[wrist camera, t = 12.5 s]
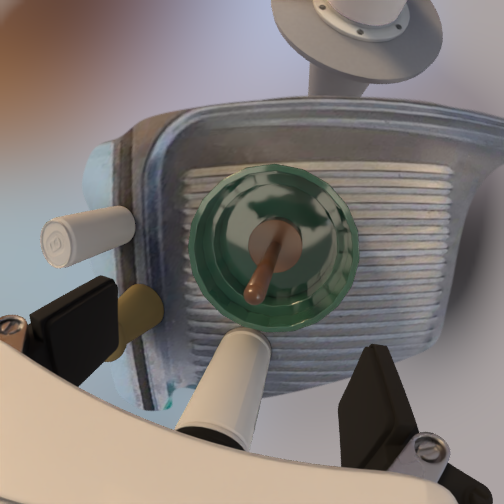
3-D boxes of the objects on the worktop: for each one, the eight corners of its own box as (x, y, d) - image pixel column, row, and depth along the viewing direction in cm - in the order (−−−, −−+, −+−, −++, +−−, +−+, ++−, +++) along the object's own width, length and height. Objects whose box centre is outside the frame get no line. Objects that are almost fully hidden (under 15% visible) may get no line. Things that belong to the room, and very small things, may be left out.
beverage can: (143, 234, 34) (78, 259, 22) (116, 249, 35) (51, 276, 23) (128, 198, 33) (59, 209, 22) (101, 215, 34) (34, 231, 23)
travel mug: (210, 349, 36) (140, 469, 17) (242, 316, 34) (181, 446, 15) (247, 378, 36) (205, 507, 17) (282, 348, 34) (257, 489, 15)
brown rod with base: (257, 212, 30) (213, 240, 15) (307, 222, 30) (312, 262, 15) (248, 260, 32) (200, 327, 17) (296, 271, 31) (289, 349, 16)
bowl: (220, 157, 30) (202, 152, 25) (362, 186, 29) (376, 187, 23) (199, 289, 34) (180, 310, 28) (328, 319, 32) (332, 346, 27)
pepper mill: (138, 274, 35) (84, 307, 25) (172, 308, 35) (127, 353, 25) (117, 303, 37) (66, 338, 26) (148, 334, 37) (104, 379, 27)
